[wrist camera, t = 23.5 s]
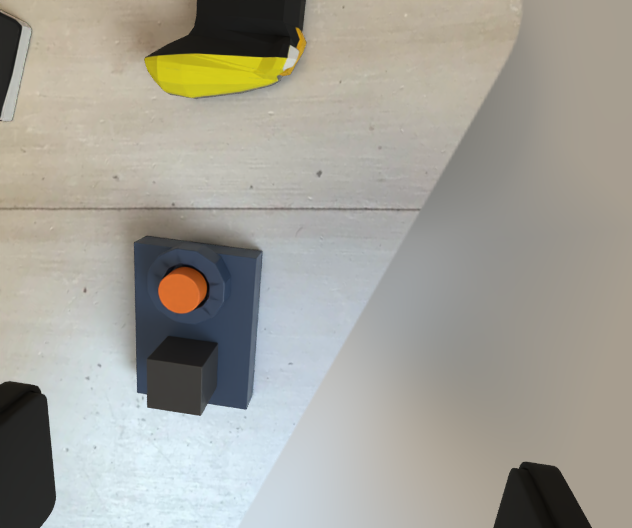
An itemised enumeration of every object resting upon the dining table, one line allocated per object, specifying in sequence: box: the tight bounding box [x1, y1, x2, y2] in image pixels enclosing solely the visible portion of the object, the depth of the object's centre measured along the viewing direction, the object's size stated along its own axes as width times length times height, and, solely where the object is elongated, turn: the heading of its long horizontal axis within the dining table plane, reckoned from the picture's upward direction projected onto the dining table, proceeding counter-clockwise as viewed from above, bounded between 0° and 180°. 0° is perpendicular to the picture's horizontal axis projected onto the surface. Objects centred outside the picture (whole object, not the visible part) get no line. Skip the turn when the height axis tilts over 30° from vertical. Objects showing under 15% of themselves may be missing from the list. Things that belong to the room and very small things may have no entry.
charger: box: [147, 336, 218, 416], centre depth 37 cm, size 5×4×4 cm
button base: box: [134, 236, 262, 409], centre depth 38 cm, size 15×10×4 cm
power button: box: [158, 267, 207, 313], centre depth 34 cm, size 3×3×2 cm
